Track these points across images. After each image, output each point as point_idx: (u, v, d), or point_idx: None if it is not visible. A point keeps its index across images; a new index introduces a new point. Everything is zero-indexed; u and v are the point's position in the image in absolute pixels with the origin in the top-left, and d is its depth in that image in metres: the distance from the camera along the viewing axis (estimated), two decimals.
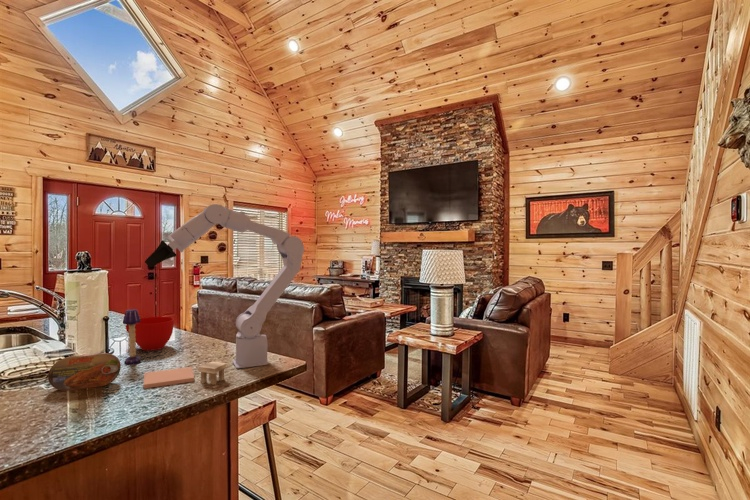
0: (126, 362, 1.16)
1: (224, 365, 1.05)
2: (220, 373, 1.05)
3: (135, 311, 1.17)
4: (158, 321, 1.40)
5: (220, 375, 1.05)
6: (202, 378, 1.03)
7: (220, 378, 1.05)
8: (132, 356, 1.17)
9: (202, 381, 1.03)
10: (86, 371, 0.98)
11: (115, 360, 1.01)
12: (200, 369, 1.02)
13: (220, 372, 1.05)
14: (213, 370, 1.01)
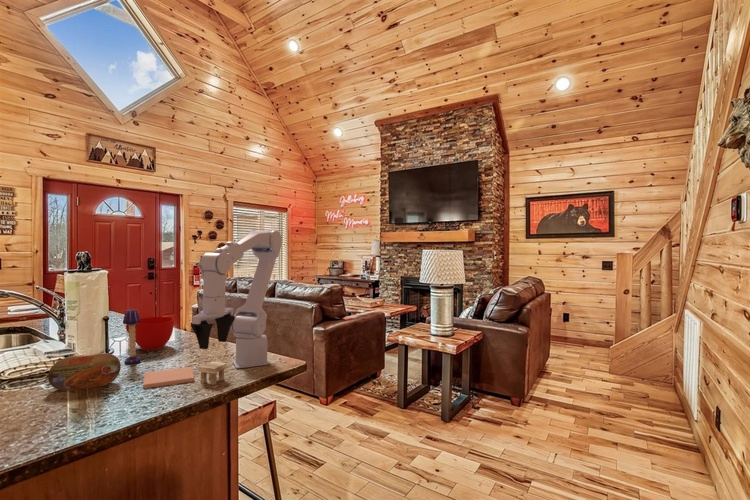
0: (126, 362, 1.16)
1: (224, 365, 1.05)
2: (220, 373, 1.05)
3: (135, 311, 1.17)
4: (158, 321, 1.40)
5: (220, 375, 1.05)
6: (202, 378, 1.03)
7: (220, 378, 1.05)
8: (132, 356, 1.17)
9: (202, 381, 1.03)
10: (86, 371, 0.98)
11: (115, 360, 1.01)
12: (200, 369, 1.02)
13: (220, 372, 1.05)
14: (213, 370, 1.01)
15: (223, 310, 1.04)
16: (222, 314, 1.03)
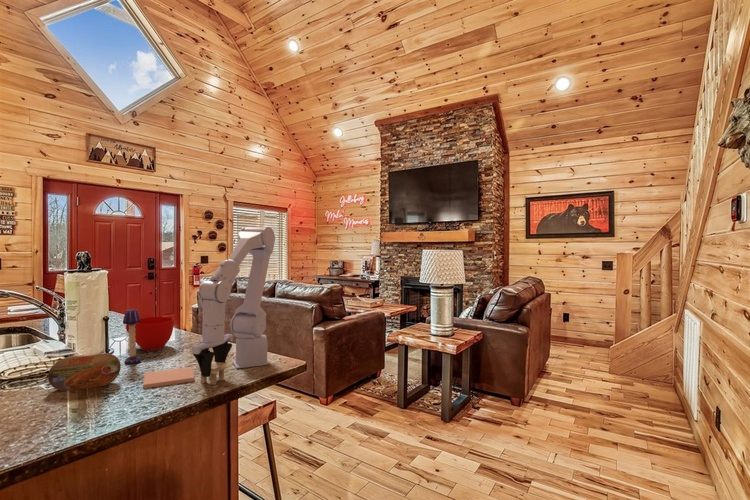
0: (126, 362, 1.16)
1: (224, 365, 1.05)
2: (220, 373, 1.05)
3: (135, 311, 1.17)
4: (158, 321, 1.40)
5: (220, 375, 1.05)
6: (202, 378, 1.03)
7: (220, 378, 1.05)
8: (132, 356, 1.17)
9: (202, 381, 1.03)
10: (86, 371, 0.98)
11: (115, 360, 1.01)
12: None
13: (220, 372, 1.05)
14: (213, 370, 1.01)
15: (222, 338, 1.04)
16: (221, 342, 1.03)
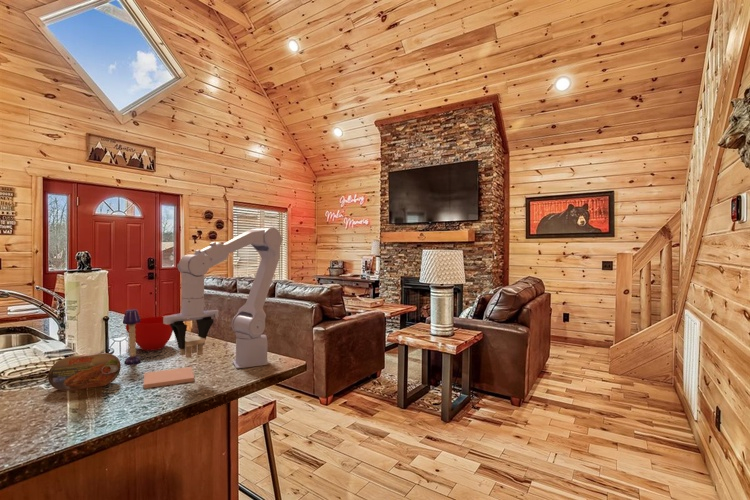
0: (126, 362, 1.16)
1: (202, 340, 1.04)
2: (198, 348, 1.04)
3: (135, 311, 1.17)
4: (158, 321, 1.40)
5: (198, 350, 1.04)
6: (181, 350, 1.04)
7: (198, 353, 1.04)
8: (132, 356, 1.17)
9: (180, 353, 1.04)
10: (86, 371, 0.98)
11: (115, 360, 1.01)
12: None
13: (198, 347, 1.04)
14: (186, 343, 1.01)
15: (198, 312, 1.03)
16: (196, 316, 1.02)
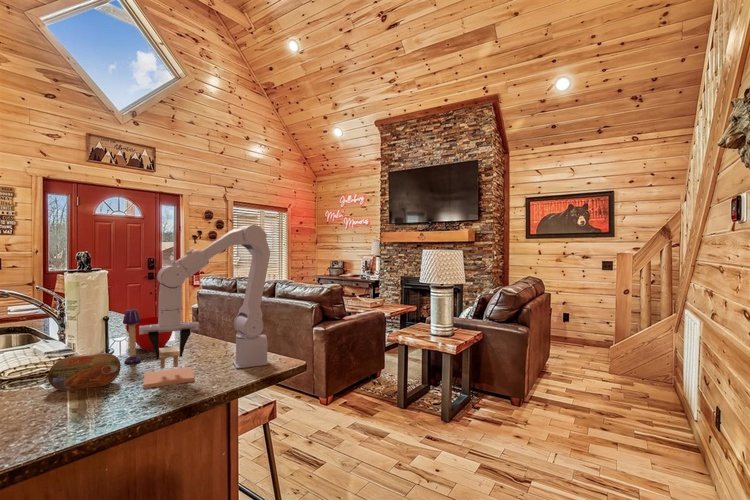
0: (126, 362, 1.16)
1: (176, 352, 1.04)
2: (173, 359, 1.04)
3: (135, 311, 1.17)
4: None
5: (173, 361, 1.04)
6: (160, 360, 1.05)
7: None
8: (132, 356, 1.17)
9: (160, 363, 1.05)
10: (86, 371, 0.98)
11: (115, 360, 1.01)
12: None
13: (173, 358, 1.04)
14: (159, 354, 1.02)
15: (171, 324, 1.03)
16: (168, 328, 1.02)
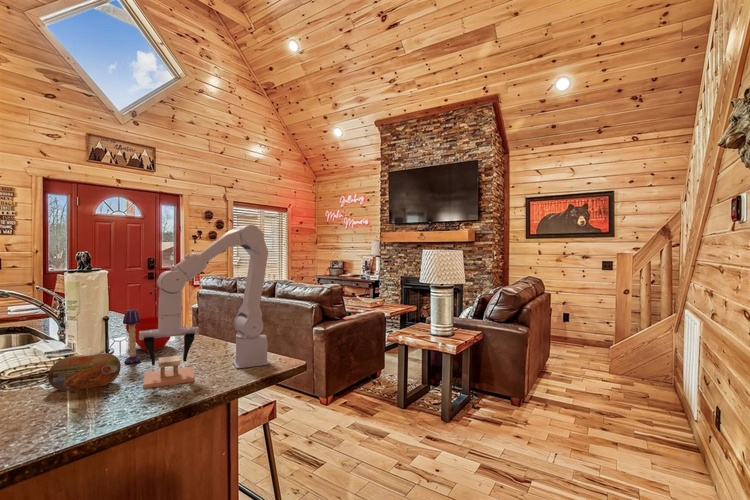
0: (126, 362, 1.16)
1: (176, 362, 1.04)
2: (173, 369, 1.04)
3: (135, 311, 1.17)
4: None
5: (173, 371, 1.04)
6: (160, 370, 1.06)
7: None
8: (132, 356, 1.17)
9: (160, 373, 1.06)
10: (86, 371, 0.98)
11: (115, 360, 1.01)
12: (159, 360, 1.06)
13: (173, 368, 1.04)
14: None
15: (171, 329, 1.03)
16: (168, 333, 1.02)
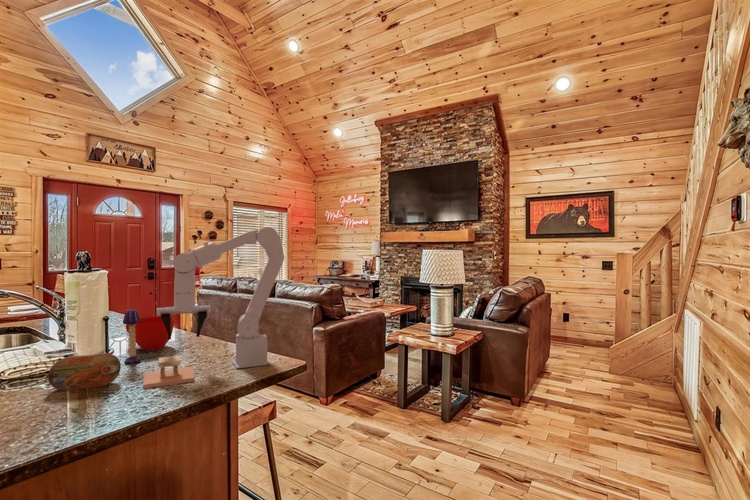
0: (126, 362, 1.16)
1: (176, 362, 1.04)
2: (173, 369, 1.04)
3: (135, 311, 1.17)
4: (158, 321, 1.40)
5: (173, 371, 1.04)
6: (160, 370, 1.06)
7: None
8: (132, 356, 1.17)
9: (160, 373, 1.06)
10: (86, 371, 0.98)
11: (115, 360, 1.01)
12: (159, 360, 1.06)
13: (173, 368, 1.04)
14: None
15: (186, 306, 1.12)
16: (183, 310, 1.11)
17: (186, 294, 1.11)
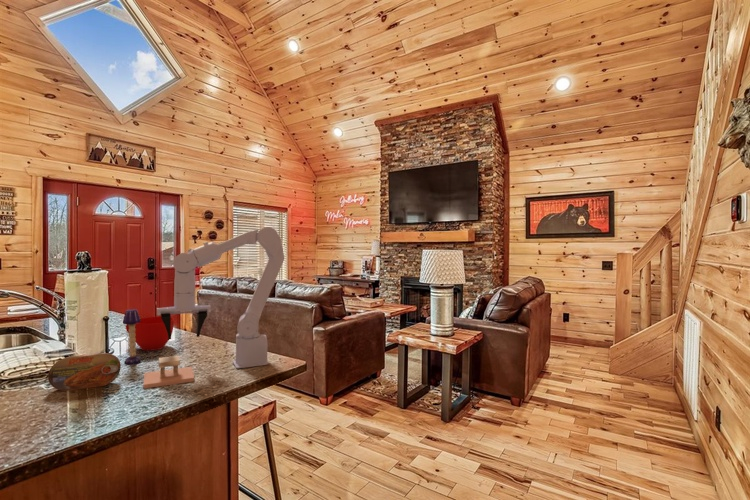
0: (126, 362, 1.16)
1: (176, 362, 1.04)
2: (173, 369, 1.04)
3: (135, 311, 1.17)
4: (158, 321, 1.40)
5: (173, 371, 1.04)
6: (160, 370, 1.06)
7: None
8: (132, 356, 1.17)
9: (160, 373, 1.06)
10: (86, 371, 0.98)
11: (115, 360, 1.01)
12: (159, 360, 1.06)
13: (173, 368, 1.04)
14: None
15: (186, 306, 1.12)
16: (183, 310, 1.11)
17: (186, 294, 1.12)
